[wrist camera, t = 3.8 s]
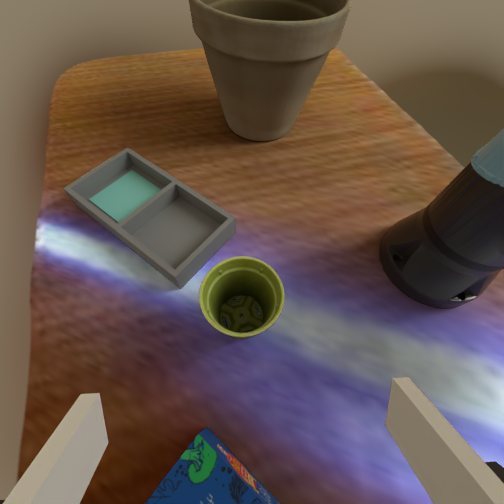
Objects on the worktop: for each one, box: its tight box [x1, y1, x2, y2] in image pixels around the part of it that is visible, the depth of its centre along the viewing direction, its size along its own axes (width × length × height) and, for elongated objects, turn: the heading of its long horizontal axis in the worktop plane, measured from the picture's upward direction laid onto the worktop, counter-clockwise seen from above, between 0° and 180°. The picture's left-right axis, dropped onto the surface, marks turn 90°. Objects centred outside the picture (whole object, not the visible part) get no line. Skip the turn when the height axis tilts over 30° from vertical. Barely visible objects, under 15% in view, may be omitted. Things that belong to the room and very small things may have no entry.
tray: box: [63, 148, 236, 289], centre depth 42 cm, size 13×25×4 cm, turn 53°
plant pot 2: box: [199, 256, 284, 339], centre depth 33 cm, size 9×9×9 cm
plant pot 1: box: [189, 0, 351, 141], centre depth 49 cm, size 25×25×22 cm
